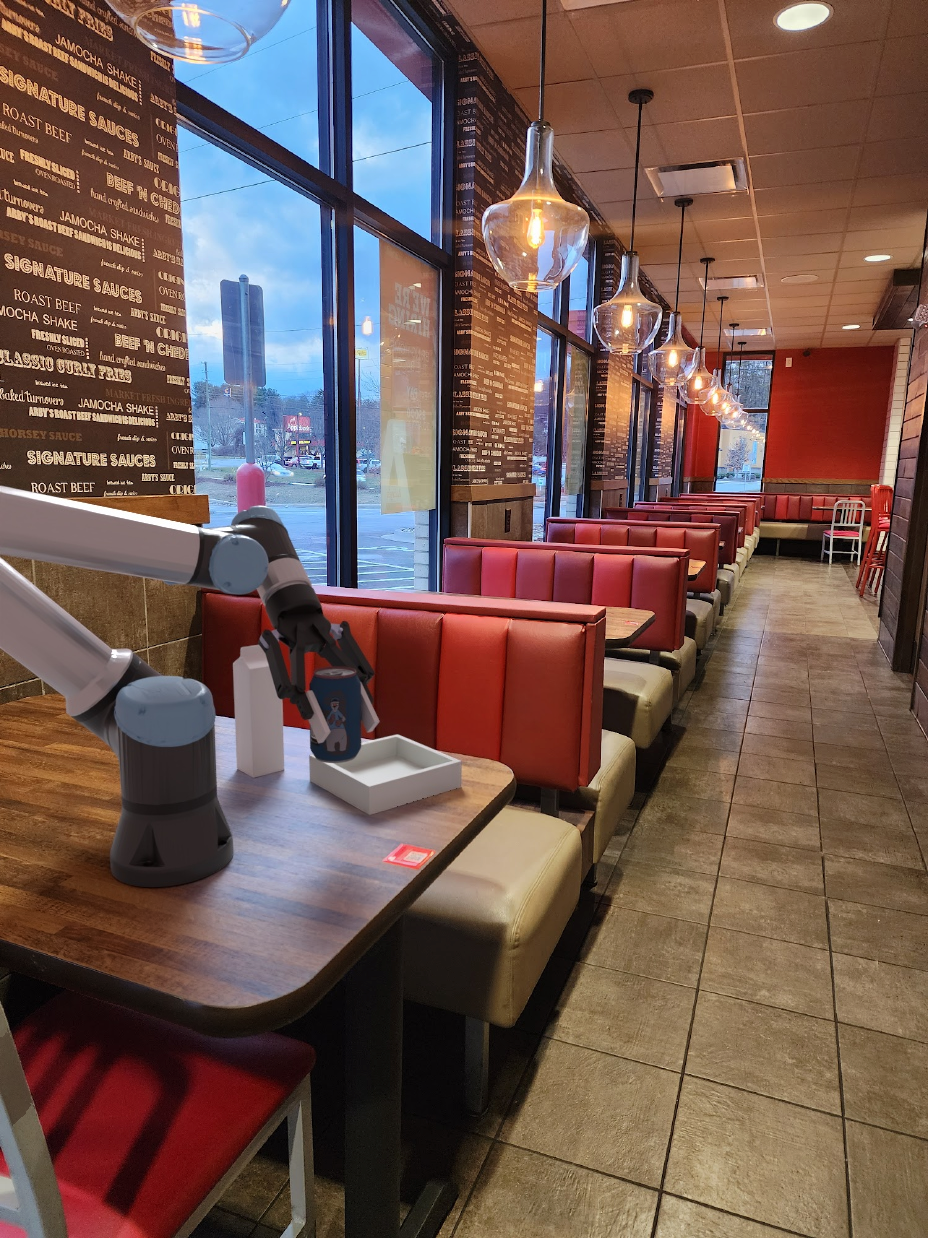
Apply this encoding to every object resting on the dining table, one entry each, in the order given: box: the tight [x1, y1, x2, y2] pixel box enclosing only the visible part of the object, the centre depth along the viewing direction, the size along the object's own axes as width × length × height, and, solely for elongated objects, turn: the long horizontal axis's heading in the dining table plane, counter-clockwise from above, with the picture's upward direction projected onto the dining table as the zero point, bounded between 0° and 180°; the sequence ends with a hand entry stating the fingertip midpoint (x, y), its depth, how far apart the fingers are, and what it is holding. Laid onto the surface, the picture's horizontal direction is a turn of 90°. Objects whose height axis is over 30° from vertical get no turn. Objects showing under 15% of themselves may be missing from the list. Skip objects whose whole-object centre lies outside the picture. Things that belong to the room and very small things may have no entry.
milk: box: [232, 644, 285, 779], centre depth 136 cm, size 6×6×22 cm
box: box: [308, 734, 463, 816], centre depth 131 cm, size 18×18×4 cm
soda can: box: [308, 666, 362, 763], centre depth 108 cm, size 7×7×12 cm
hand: (349, 732), depth 106 cm, fingers closed on soda can, 7 cm apart
